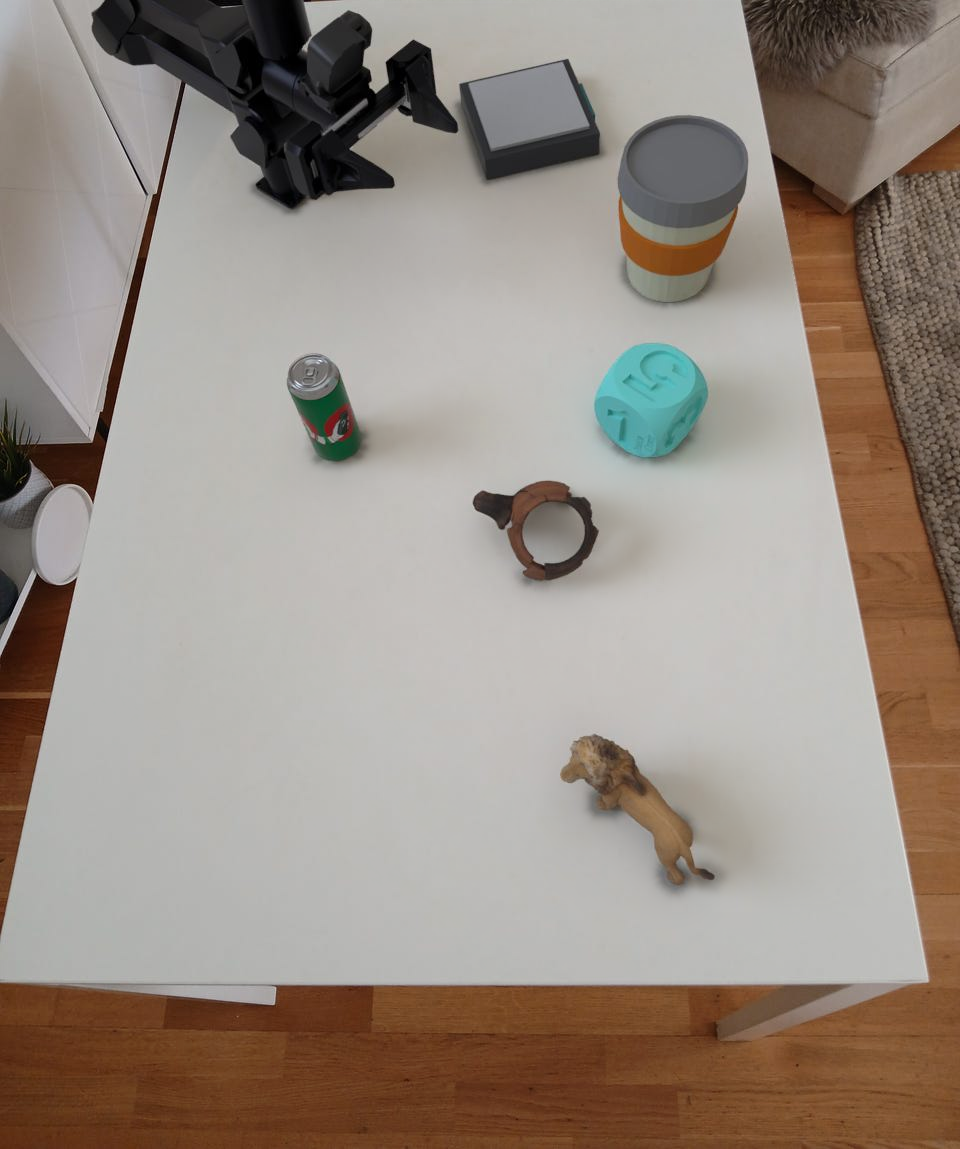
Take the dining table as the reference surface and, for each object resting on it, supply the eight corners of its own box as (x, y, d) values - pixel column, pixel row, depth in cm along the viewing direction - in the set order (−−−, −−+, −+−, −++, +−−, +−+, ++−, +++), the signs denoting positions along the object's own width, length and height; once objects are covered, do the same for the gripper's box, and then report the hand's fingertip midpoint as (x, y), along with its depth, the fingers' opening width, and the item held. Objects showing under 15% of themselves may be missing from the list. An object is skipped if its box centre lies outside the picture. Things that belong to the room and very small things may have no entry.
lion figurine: (551, 788, 78) (550, 763, 70) (589, 740, 79) (592, 711, 71) (695, 904, 73) (712, 892, 65) (732, 851, 74) (753, 833, 66)
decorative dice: (591, 428, 93) (594, 380, 86) (640, 379, 95) (647, 328, 88) (653, 471, 90) (661, 425, 83) (703, 419, 92) (715, 370, 85)
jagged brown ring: (597, 495, 90) (615, 494, 82) (572, 587, 91) (587, 595, 83) (480, 463, 89) (486, 459, 81) (455, 556, 90) (459, 562, 82)
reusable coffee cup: (748, 264, 101) (778, 149, 87) (678, 334, 97) (697, 226, 84) (658, 212, 105) (673, 95, 91) (588, 277, 102) (592, 166, 88)
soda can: (366, 424, 95) (341, 350, 85) (358, 465, 93) (332, 395, 83) (319, 422, 96) (289, 349, 85) (310, 463, 94) (278, 393, 83)
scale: (486, 180, 109) (484, 156, 106) (461, 104, 115) (458, 79, 112) (604, 153, 110) (605, 128, 107) (572, 79, 116) (573, 53, 113)
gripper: (221, 67, 83) (342, 140, 78) (361, -39, 88) (483, 23, 83) (256, 167, 93) (365, 237, 88) (380, 67, 98) (489, 127, 93)
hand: (425, 155), depth 88 cm, fingers open, 9 cm apart
